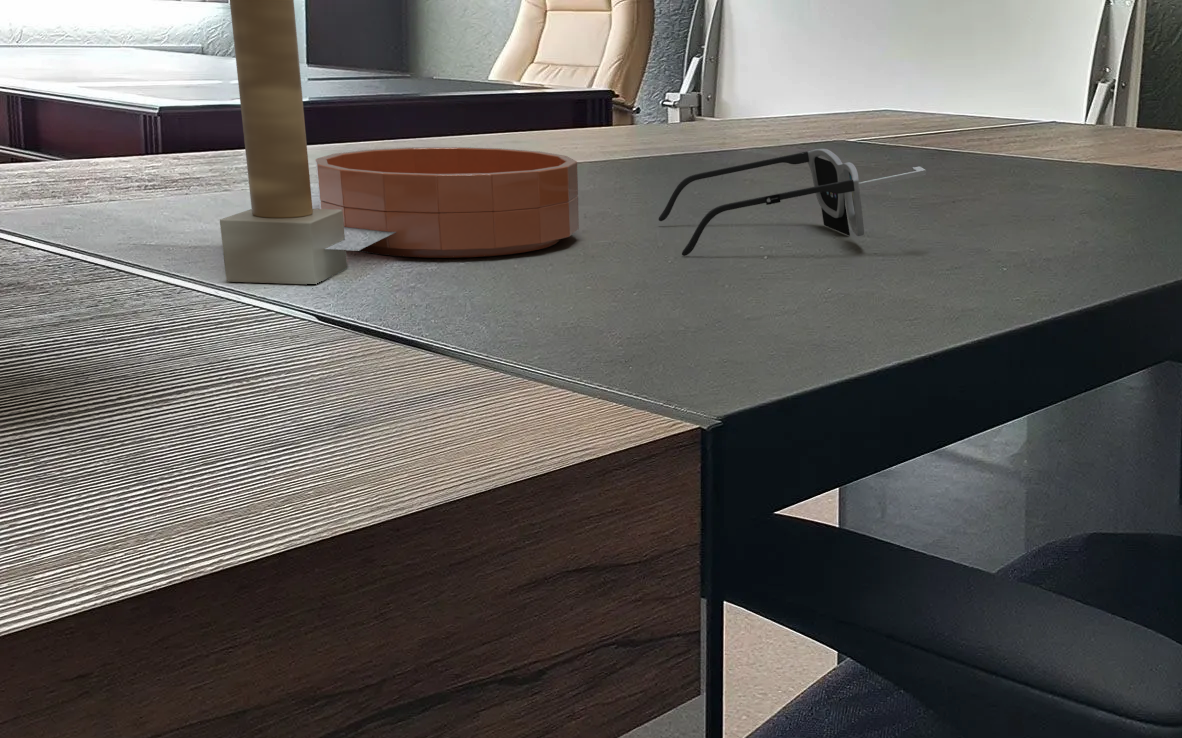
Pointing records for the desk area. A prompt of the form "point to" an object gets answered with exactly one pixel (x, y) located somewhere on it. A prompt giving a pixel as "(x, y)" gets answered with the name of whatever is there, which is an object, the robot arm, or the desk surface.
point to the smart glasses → (804, 191)
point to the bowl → (453, 199)
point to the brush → (276, 160)
